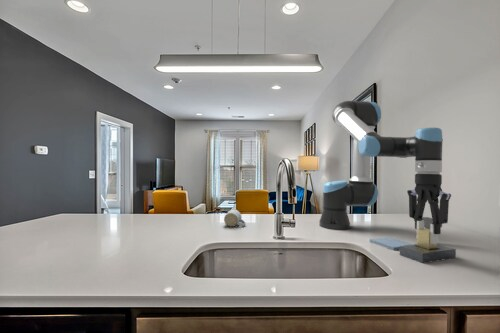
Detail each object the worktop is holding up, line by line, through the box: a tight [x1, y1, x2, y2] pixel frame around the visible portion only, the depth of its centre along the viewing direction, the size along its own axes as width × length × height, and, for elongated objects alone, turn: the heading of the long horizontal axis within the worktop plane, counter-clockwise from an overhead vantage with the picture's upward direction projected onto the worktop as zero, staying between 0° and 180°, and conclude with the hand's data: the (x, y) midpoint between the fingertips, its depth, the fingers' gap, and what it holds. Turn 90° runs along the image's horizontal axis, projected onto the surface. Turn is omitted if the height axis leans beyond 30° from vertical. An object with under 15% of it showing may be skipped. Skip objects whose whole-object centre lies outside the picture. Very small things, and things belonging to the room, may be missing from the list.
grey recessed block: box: [399, 243, 457, 264], centre depth 86 cm, size 8×16×3 cm, turn 110°
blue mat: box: [369, 236, 414, 251], centre depth 99 cm, size 11×11×1 cm
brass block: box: [416, 227, 438, 250], centre depth 86 cm, size 4×4×8 cm
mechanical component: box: [413, 216, 443, 229], centre depth 103 cm, size 3×10×10 cm, turn 78°
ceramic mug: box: [223, 208, 247, 228], centre depth 127 cm, size 11×8×8 cm
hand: (427, 241), depth 86 cm, fingers closed on brass block, 4 cm apart
